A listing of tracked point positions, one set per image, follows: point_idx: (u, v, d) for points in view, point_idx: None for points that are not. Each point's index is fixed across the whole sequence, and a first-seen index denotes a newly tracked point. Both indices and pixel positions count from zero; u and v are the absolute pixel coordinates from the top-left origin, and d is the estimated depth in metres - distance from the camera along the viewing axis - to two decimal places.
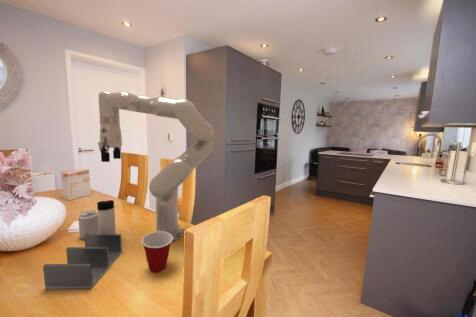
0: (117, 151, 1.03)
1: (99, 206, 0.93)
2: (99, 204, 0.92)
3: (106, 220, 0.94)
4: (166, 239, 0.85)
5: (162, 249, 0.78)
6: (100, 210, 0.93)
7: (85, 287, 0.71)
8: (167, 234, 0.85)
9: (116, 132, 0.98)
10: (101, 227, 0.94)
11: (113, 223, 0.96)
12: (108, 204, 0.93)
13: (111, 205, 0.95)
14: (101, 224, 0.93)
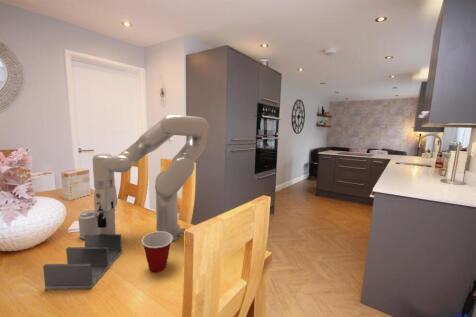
0: None
1: None
2: None
3: (106, 220, 0.93)
4: (166, 239, 0.85)
5: (162, 249, 0.78)
6: (100, 210, 0.92)
7: (85, 287, 0.71)
8: (167, 234, 0.85)
9: (111, 194, 0.94)
10: None
11: (113, 223, 0.96)
12: None
13: (111, 205, 0.94)
14: None
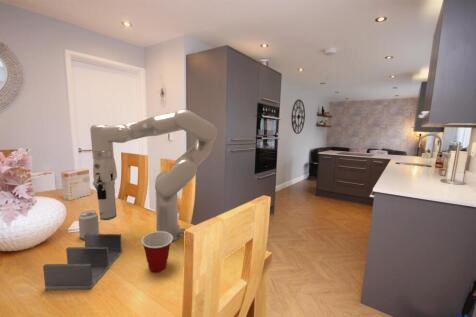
0: None
1: None
2: None
3: None
4: (166, 239, 0.85)
5: (162, 249, 0.78)
6: None
7: (85, 287, 0.71)
8: (167, 234, 0.85)
9: (110, 166, 0.93)
10: (101, 199, 0.92)
11: (113, 196, 0.95)
12: None
13: None
14: None
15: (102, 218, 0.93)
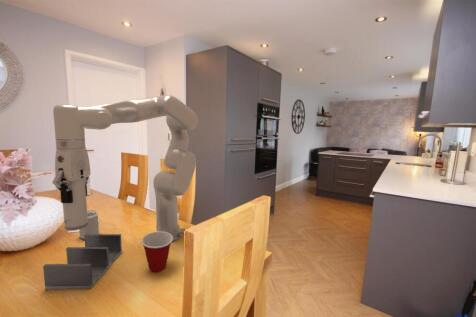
0: None
1: None
2: None
3: (72, 194, 0.70)
4: (166, 239, 0.85)
5: (162, 249, 0.78)
6: (64, 180, 0.69)
7: (85, 287, 0.71)
8: (167, 234, 0.85)
9: (80, 159, 0.71)
10: (65, 203, 0.70)
11: (83, 198, 0.73)
12: None
13: None
14: None
15: (67, 227, 0.71)
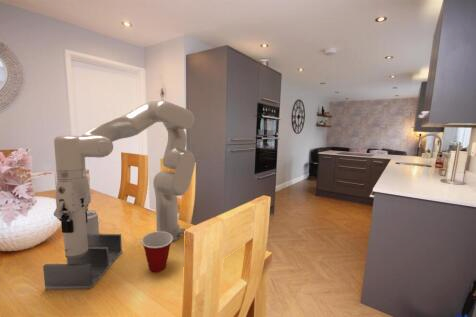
0: None
1: None
2: None
3: None
4: (166, 239, 0.85)
5: (162, 249, 0.78)
6: (64, 210, 0.70)
7: (85, 287, 0.71)
8: (167, 234, 0.85)
9: (80, 189, 0.72)
10: None
11: (83, 227, 0.73)
12: None
13: None
14: None
15: (68, 256, 0.72)
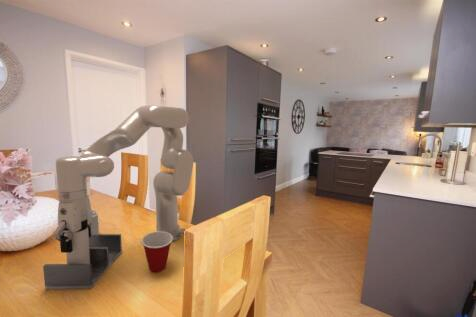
0: None
1: None
2: None
3: (76, 246, 0.72)
4: (166, 239, 0.85)
5: (162, 249, 0.78)
6: None
7: (85, 287, 0.71)
8: (167, 234, 0.85)
9: (82, 209, 0.72)
10: (69, 254, 0.72)
11: (86, 248, 0.74)
12: None
13: (83, 225, 0.73)
14: None
15: None
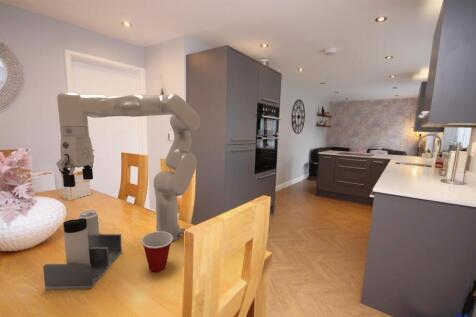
0: (88, 170, 0.79)
1: (65, 228, 0.70)
2: (65, 225, 0.70)
3: (75, 246, 0.72)
4: (166, 239, 0.85)
5: (162, 249, 0.77)
6: (67, 233, 0.71)
7: (85, 287, 0.71)
8: (167, 234, 0.85)
9: (84, 146, 0.73)
10: (68, 255, 0.72)
11: (85, 248, 0.74)
12: (78, 225, 0.71)
13: (82, 226, 0.73)
14: (69, 251, 0.71)
15: None
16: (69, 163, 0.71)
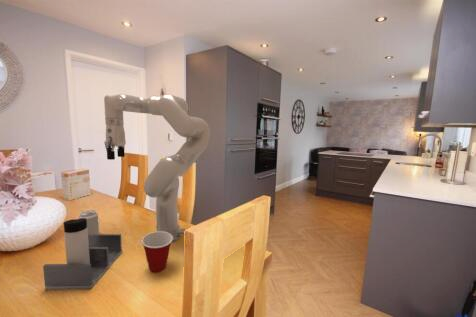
0: (121, 150, 1.12)
1: (66, 227, 0.71)
2: (66, 225, 0.70)
3: (75, 246, 0.72)
4: (166, 239, 0.85)
5: (162, 249, 0.78)
6: (67, 232, 0.71)
7: (85, 287, 0.71)
8: (167, 234, 0.85)
9: (120, 132, 1.06)
10: (69, 254, 0.72)
11: (85, 248, 0.74)
12: (78, 224, 0.71)
13: (82, 225, 0.73)
14: (69, 251, 0.71)
15: None
16: (111, 143, 1.03)
